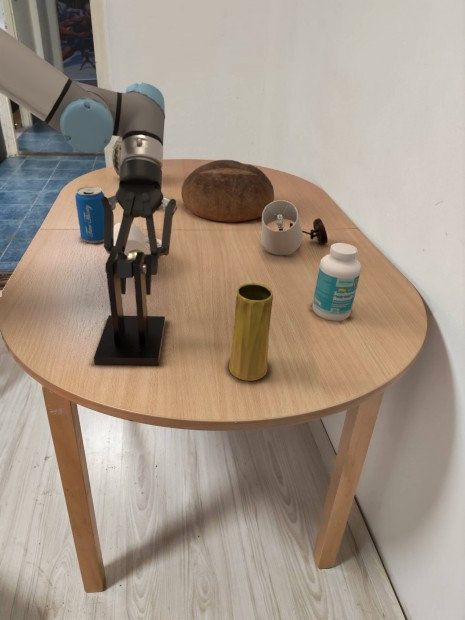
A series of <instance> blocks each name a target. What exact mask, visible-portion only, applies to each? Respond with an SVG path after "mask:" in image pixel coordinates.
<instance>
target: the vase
mask: <svg viewBox="0 0 465 620" xmlns="http://www.w3.org/2000/svg"><path fill="white" fill-rule="evenodd" d="M273 301H274V292H273V290H272V288H270V287H269V286H267V285H265V284H263V283H257V282H248V283H244V284H241V285H239V286H238V287H237V289H236V298H235V307H234V308H235V309H234V321H233V334H232V341H231V350H230V360H229V364H228V370H229V371H230V374H231V375H233V376H234V377H235V378H237V379H239V380H242V381H245V382H246V381H247V382H250V381H252V382H253V381H258V380H260V379H262V378H264V377H265V376H266V374H267V372H268V360H269V358H268V357H269V339H270V326H271V319H272V311H273V310H272V309H273V303H274V302H273Z"/></svg>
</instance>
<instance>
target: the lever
mask: <svg viewBox="0 0 465 620" xmlns="http://www.w3.org/2000/svg"><path fill="white" fill-rule="evenodd" d="M137 252H142V251H141V250H138V249H134V250H131V251H130V252H128V254H127V255H126V260H124V259H120V260H119V261H117V278H126V279H132V278H134V271H133V264H134V261H135V258H136V254H137ZM145 264H146V255H145V253H144V265H145Z"/></svg>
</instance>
